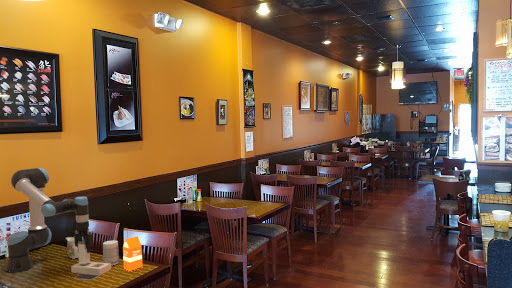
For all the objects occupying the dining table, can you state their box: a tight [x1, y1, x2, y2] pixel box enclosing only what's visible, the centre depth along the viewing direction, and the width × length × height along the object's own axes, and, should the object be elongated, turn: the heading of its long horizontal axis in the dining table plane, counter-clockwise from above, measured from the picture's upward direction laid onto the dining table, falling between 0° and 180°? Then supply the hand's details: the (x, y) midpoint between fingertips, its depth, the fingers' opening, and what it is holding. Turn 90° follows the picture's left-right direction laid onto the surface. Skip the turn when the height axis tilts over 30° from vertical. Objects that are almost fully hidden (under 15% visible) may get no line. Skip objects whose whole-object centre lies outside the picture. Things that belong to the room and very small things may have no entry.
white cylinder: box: [78, 239, 91, 264], centre depth 244 cm, size 5×5×14 cm
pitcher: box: [65, 236, 84, 260], centre depth 272 cm, size 11×18×14 cm, turn 72°
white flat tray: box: [70, 261, 112, 276], centre depth 243 cm, size 22×10×4 cm, turn 72°
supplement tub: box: [102, 240, 120, 267], centre depth 255 cm, size 10×10×15 cm
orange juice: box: [122, 235, 143, 272], centre depth 245 cm, size 8×9×20 cm
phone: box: [73, 273, 101, 281], centre depth 233 cm, size 7×13×1 cm, turn 72°
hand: (84, 257), depth 245 cm, fingers closed on white cylinder, 4 cm apart
